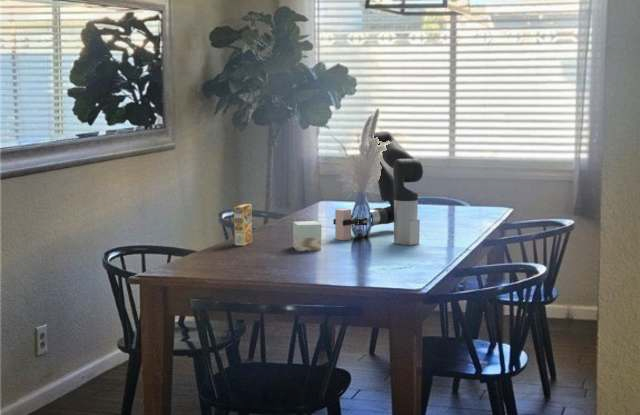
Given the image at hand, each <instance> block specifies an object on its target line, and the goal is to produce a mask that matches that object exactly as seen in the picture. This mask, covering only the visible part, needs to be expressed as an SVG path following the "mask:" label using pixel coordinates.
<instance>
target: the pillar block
mask: <svg viewBox="0 0 640 415" xmlns="http://www.w3.org/2000/svg"><path fill="white" fill-rule="evenodd" d="M334 214H335V215H334V216H335V217H334V219H336V225H335V224H334V226H335V227H334V228H335V240H340V241H347V240H348V241H349V240H352V226H351V225H347V226H343V220H348V219H351V215H352V209H350V208H338V209H337V208H336V209H335V213H334Z"/></svg>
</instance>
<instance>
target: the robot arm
mask: <svg viewBox="0 0 640 415" xmlns="http://www.w3.org/2000/svg"><path fill="white" fill-rule="evenodd" d="M373 133H374V138H376V137H378V139H379V141H382V142H386V141H388V140H389V141H390V142H392V143H390V144H388V145H386V148H387V150H386V151H383V152H382V153H381V154H382V159H383V160H384V162H385V163H386V165H387V166H389V167H391V169H392V170H393V172H392V173H393V175H392V174H391V172H390V171H389V170H387V168H386V167H385V166H384V165H383V163H382V162H381V161H380V164H381V166H382V169H381V176H380V179H379V181H378V180H377V183H378V189H379V194H380V195H379V196H380V199H381V201H383V202H388V203H389V206H386V207H383V208H382V207H374V208H369V209H370V213H371V218H372V222H371V227H374V226H379V225H389V224H392V223H393V244H395V245H400V246H402V245H404V246H405V245H407V246H412V245H418V244H420V229H421V228H420V227H421V225H420V224H421V222H420V219H419V218H418V212H419V210H418V208H419V206H418V203H419V201H418V200H419V194H418V193H417V191H414V190H411V189H408V188H407V187H406V186H405V183H417V182H419V181H421V179H422V178H423V174H424V169H423V165H422V163H421V161H420V160H419V159H418V158H416V157H414V156H412V155H411V154H410V153H409V152H408V151H406V149H405V148H403V146H401V144H399V143H398V142H397V140H396V138H395V137H394V136H393V134H392V133H391V132H390V131H388V130H387V131H377V132H373ZM378 145H380V143H379V144H378ZM353 215H354V214H351V219H348V220H343V226H347V225H351V227H352V226H353V227H356V226H357V225H367V223H368V220H367V218H364V219H363V218H362V219H358V218H357V217H353ZM358 221H359V222H358ZM358 223H359V224H358ZM333 225H334V226H335V225H336V219H335V218H334V219H333ZM371 227H370V228H371Z"/></svg>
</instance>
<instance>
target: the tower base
mask: <svg viewBox="0 0 640 415" xmlns="http://www.w3.org/2000/svg"><path fill="white" fill-rule="evenodd" d="M292 238H293V240H292V242H293V243H292V244H293V245H292V247H293V248H294V249H295V250H296V251H297V252H301V251H302V252H303V251H305V250H308V251H321V250H322V237H321V238H297V237H296V236H294V235H293V234H292Z"/></svg>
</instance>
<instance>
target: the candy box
mask: <svg viewBox="0 0 640 415" xmlns="http://www.w3.org/2000/svg"><path fill="white" fill-rule="evenodd" d="M252 210H253V208H252V204H251V203H242V204H239V205H235V206H234V207H233V217H234V218H233V219H234V220H233V223H234V224H233V225H234V246H242V247H243V246H246V245H248V244H253V221H252V220H253V219H252V218H253V216H252V215H253V214H252V212H253V211H252Z"/></svg>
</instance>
